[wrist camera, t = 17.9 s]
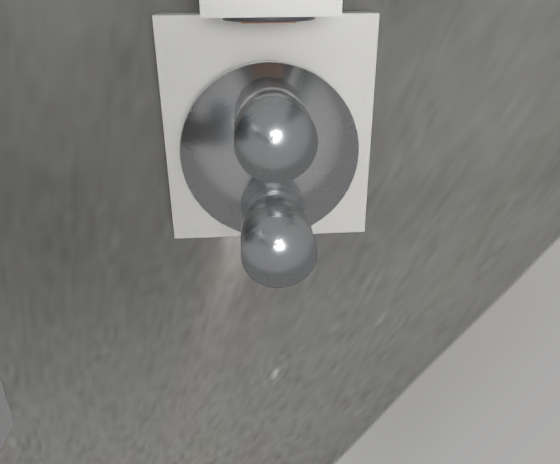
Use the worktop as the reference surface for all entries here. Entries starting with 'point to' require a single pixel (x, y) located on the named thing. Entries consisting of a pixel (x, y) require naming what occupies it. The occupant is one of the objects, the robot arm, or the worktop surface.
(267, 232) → the grey metal knob
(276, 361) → the worktop surface
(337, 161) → the pan
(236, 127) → the cylinder
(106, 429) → the worktop surface
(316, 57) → the scale
